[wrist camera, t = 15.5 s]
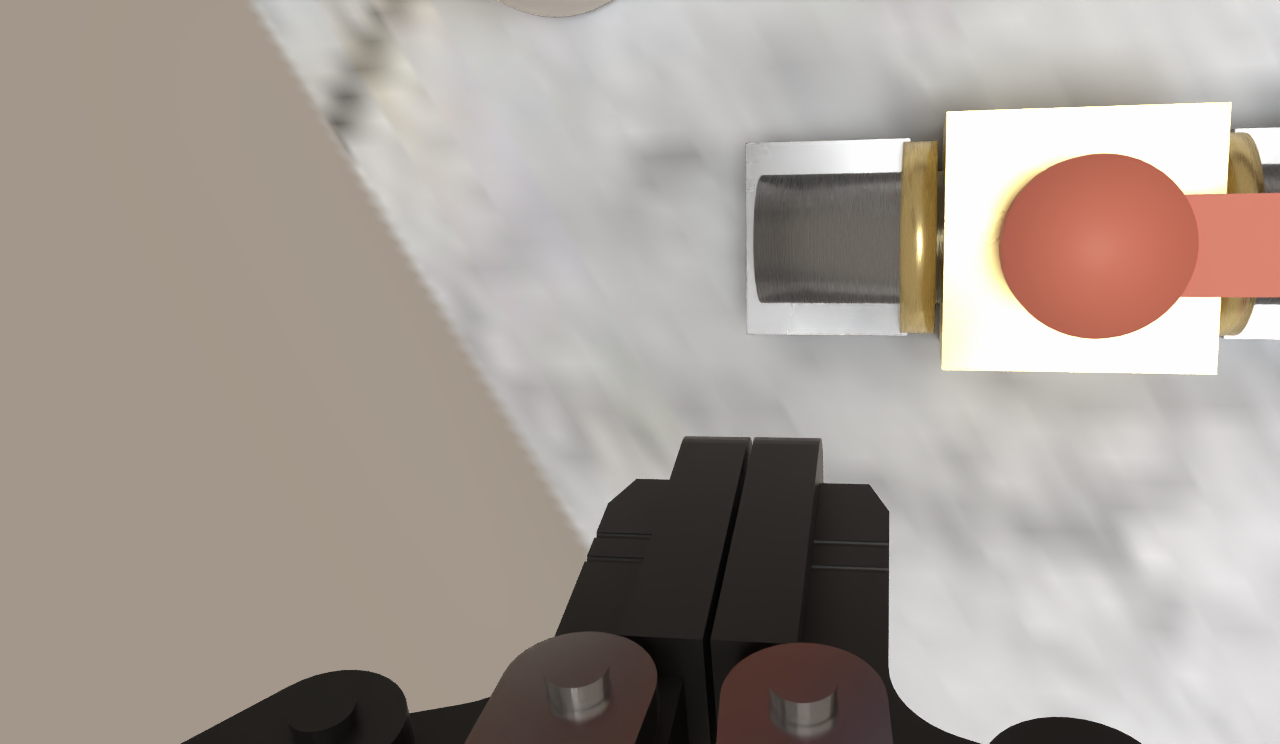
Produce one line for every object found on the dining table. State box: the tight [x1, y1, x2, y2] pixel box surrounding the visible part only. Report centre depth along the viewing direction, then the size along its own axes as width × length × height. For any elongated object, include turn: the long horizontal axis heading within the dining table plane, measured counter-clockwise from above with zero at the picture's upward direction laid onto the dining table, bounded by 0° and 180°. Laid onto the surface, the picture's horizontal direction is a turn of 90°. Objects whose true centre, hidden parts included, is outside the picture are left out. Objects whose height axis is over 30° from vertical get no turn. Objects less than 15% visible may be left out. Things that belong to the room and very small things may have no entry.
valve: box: [746, 102, 1280, 374], centre depth 34 cm, size 19×7×9 cm, turn 91°
